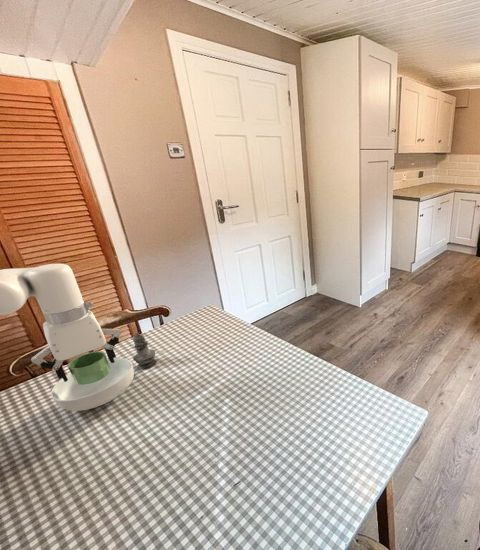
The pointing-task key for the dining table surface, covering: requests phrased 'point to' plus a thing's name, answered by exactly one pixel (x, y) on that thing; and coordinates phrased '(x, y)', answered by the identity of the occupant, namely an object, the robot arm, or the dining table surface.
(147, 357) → the grey tall carved piece
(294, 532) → the dining table surface
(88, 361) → the green bowl
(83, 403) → the cereal bowl
